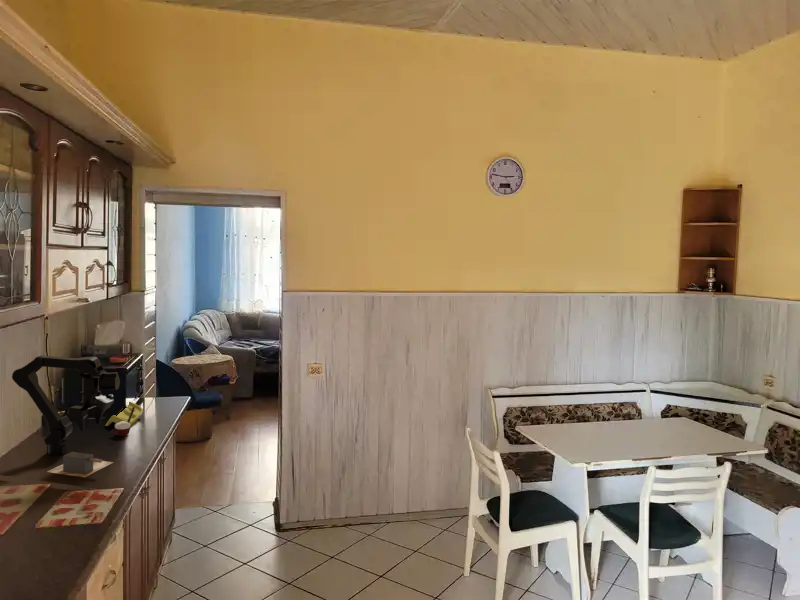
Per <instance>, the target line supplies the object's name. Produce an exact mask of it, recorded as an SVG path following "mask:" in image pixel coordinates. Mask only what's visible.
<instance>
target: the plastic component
mask: <svg viewBox="0 0 800 600" xmlns="http://www.w3.org/2000/svg"><path fill="white" fill-rule="evenodd" d="M128 402H129V405H128V407H127V408H125V409H124V410H123V411H122V412H120V411H119V412H120V413H119V412H118V413H119V414H118V413H117V414H118V415H117V414H116V415H117V416H116V415H115V414H113V415H112V416H111V417H110V418H109V419H108V420H107V422H106V424H105V425H104V426H106V427H109V426H110V425H111V424H112V423H115V424H117V423H119V422H121V421H124V422H127V421H128V419H129V416H130V414H131V411H132V408H133V407H134V408H135V409H134V412H133V414H132V417H131V420H130V422H129V423H130V427H131V426H132V425H133V424H135V422H136V421H137V420H138V418H139V417H140V416H141V414H142V413H143V411H144V410H143V408H142V407H141V406H140V405H138V404H136V403H134V402H132V401H128Z"/></svg>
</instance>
